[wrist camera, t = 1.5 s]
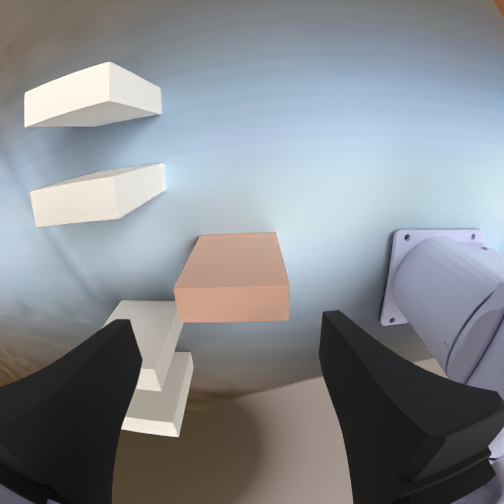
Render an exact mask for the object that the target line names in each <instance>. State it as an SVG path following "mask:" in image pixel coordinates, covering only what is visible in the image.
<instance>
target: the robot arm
mask: <svg viewBox="0 0 504 504" xmlns="http://www.w3.org/2000/svg"><path fill="white" fill-rule="evenodd" d="M407 234H408V237H407V239H405V240H404V237H405V236H406V235H407ZM472 234H473V235H472ZM471 236H472V237H471ZM483 239H484V232H483V231H481V230H398V231H396V232H395V234H394V238H393V247H392V254H391V261H390V268H389V274H388V280H387V286H386V292H385V297H384V303H383V308H382V313H381V317H380V322H381V324H382V325H383V326H389V325H396V324H403V323H410V325H411V326H412V327H413V329H414V330H415V331H416V333H417V334H418V335H419V337H420V338H421V340H422V341H423V342H424V344H425V345H426V346H427V348H428V349H429V351H430V352H431V353H432V355H433V356H434V358H435V359H436V361H437V362H438V363H439V365H440V366H441V368H442V369H443V371H444V372H445V374H446V375H447V376H448V378H447V379H446V378H444V377H441V376H439V375H436V374H434V373H432V372H429V371H427V370H425V369H423V368H421V367H419V366H417V365H415V364H413V363H411V362H409V361H408V360H406V359H404V358H402V357H401V356H399V355H397V354H396V353H394V352H393V351H391V350H390V349H388V348H387V347H385V346H384V345H382V344H381V343H380V342H378V341H377V340H375V339H374V338H373V337H372V336H370V335H369V334H368V333H366V332H365V331H364V330H363V329H361V328H360V327H359V326H358V325H356V324H355V323H354V322H353V321H352V320H350V319H349V318H348V317H347V316H346V315H344V314H343V313H342V312H341V311H339V310H336V311H326V312H323V316H322V327H321V338H320V348H319V358H320V363H321V368H322V372H323V377H324V380H325V383H326V386H327V388H328V391H329V394H330V397H331V400H332V403H333V406H334V408H335V411H336V414H337V417H338V420H339V423H340V426H341V430H342V434H343V438H344V443H345V448H346V454H347V459H348V465H349V471H350V478H351V486H352V494H353V504H504V256H503V255H502V254H500V253H498V252H497V251H495V250H493V249H492V248H490V247H488V246H487V245H485V244H483ZM391 318H393V319H392V320H390V319H391ZM142 361H143V359H142V356H141V353H140V350H139V347H138V344H137V341H136V338H135V334H134V331H133V328H132V325H131V321H130V319H115V320H114V321H112V322H110V323H109V324H107V325H106V326H105V327H103V328H102V329H100V330H99V331H98V332H96V333H95V334H94V335H92V336H91V337H90V338H88V339H87V340H86V341H84V342H83V343H82V344H80V345H79V346H77V347H76V348H75V349H73V350H72V351H70V352H69V353H67V354H66V355H64V356H63V357H61V358H60V359H58V360H57V361H55V362H54V363H52V364H50V365H49V366H47V367H45V368H43V369H41V370H40V371H38V372H36V373H34V374H31V375H29V376H27V377H25V378H22V379H20V380H18V381H16V382H13V383H10V384H7V385H4V386H1V387H0V504H112V481H113V470H114V463H115V456H116V450H117V445H118V440H119V435H120V431H121V428H122V424H123V422H124V419H125V416H126V413H127V410H128V408H129V405H130V402H131V400H132V397H133V394H134V391H135V389H136V386H137V383H138V380H139V375H140V371H141V366H142Z"/></svg>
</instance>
